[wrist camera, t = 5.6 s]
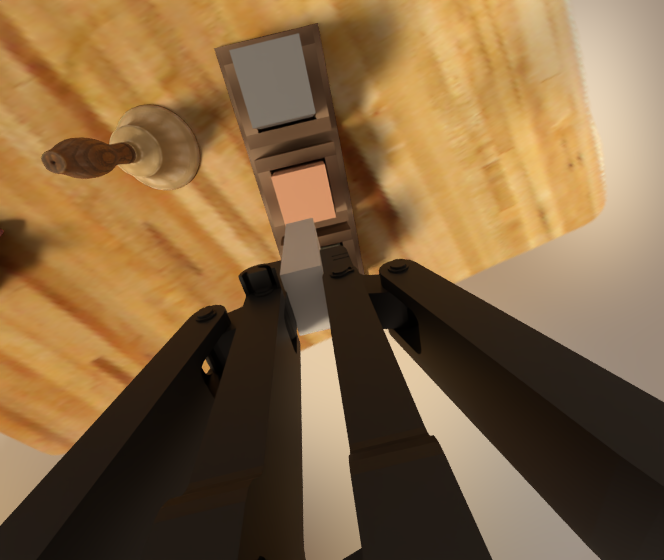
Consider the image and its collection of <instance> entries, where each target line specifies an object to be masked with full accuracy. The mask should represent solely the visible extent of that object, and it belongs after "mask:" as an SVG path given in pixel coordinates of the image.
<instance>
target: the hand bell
mask: <svg viewBox="0 0 664 560" xmlns="http://www.w3.org/2000/svg"><path fill="white" fill-rule="evenodd" d="M41 159H42V162H43V164H44V166H45V167H46V169H48V170H49V171H51V172H53V173H57V174H64V175H67V176H71V177H75V178H81V179H90V178H96V177H100V176H103V175H105V174H107V173H109V172H110V171H112V170H113V169H114V167H115V166H116V165H118V166H119V167H120V168H121V169H122V170H123V171H125V172H126V173H128V174H130V175H132V176H134V177H135V178H136V179H137V180H139V181H140V182H142V183H143V184H145V185H147V186H149V187H152V188H155V189H159V190H174V189H178V188H181V187H183V186H185V185H186V184H188V183H189V182H190V181H191V180H192V179H193V178H194V176H195V174H196V172H197V170H198V167H199V162H200V152H199V147H198V143H197V140H196V138H195V136H194V134H193V132H192V131H191V129H190V128H189V126H188V125H187V124H186V123H185V121H183V120H182V119H181V118H180V117H179V116H177V115H176V114H175V113H173V112H171V111H170V110H168V109H165V108H163V107H160V106H155V105H141V106H137V107H134V108H132V109H130V110H129V111H127V112H126V113H125V114H124V115H123V116H122V117H121V119H120V120H119V122H118V125H117V128H116V130H115V131H114V132H113V134H112V135H111V138H110V143H109V144H106V143H104V142H101V141H99V140H95V139H91V138H70V139H66V140H64V141H61V142H59V143H58V144H57V145H55V146H54V147H53V148H52V149H50V150H49V151H46V152H44V154H43V155H42V157H41Z"/></svg>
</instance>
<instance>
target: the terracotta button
mask: <svg viewBox="0 0 664 560" xmlns="http://www.w3.org/2000/svg"><path fill="white" fill-rule="evenodd" d="M271 179H272V182H273V186H274V189H275V192H276V196H277V199H278V203H279V206H280V209H281V213H282V216H283V220H284V223H285V226H286V224H288V223H293V222H297V221H301V220H305V219H309V218H313V221H314V223H315V222H319V221H323V220H327V219H331V218H335V217H336V215H335V210H334V205H333V201H332V196H331V191H330V187H329V182H328V177H327V172H326V168H325V164H324V163H323V161H322V160H321V159H317V160H313V161H309V162H305V163H301V164H297V165H293V166H289V167H284V168H280V169H276V170H275V171H274V173H273V175H272V176H271Z"/></svg>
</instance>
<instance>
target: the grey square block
mask: <svg viewBox="0 0 664 560" xmlns="http://www.w3.org/2000/svg"><path fill="white" fill-rule="evenodd" d="M229 51H230V54H231V58H232V61H233V64H234V68H235V71H236V74H237V78H238V81H239V84H240V88H241V91H242V94H243V98H244V101H245V104H246V108H247V111H248V114H249V118H250V121H251V124H252V128H253V129H264V128H268V127H272V126H276V125H280V124H284V123H288V122H293V121H297V120H301V119H305V118H309V117H313V116H314V114H315V113H316V112H315V108H314V103H313V98H312V93H311V89H310V84H309V79H308V74H307V70H306V65H305V60H304V55H303V51H302V46H301V41H300V36H299V33H298V34H294V35H290V36H286V37H281V38H277V39H273V40H269V41H265V42H261V43H257V44H253V45H249V46H245V47H241V48H237V49H232V50H229Z"/></svg>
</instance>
